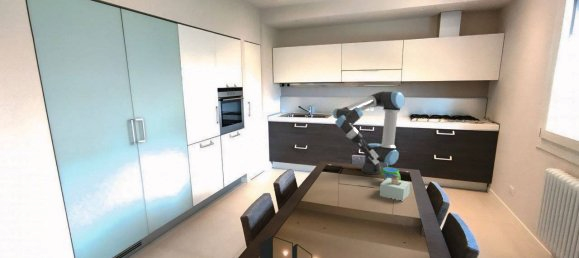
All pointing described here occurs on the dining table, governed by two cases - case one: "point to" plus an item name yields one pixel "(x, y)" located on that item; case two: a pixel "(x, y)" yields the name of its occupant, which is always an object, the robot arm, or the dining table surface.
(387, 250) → the dining table surface
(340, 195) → the dining table surface
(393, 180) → the wooden peg
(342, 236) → the dining table surface
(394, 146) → the robot arm
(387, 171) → the snack cup
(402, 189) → the block
